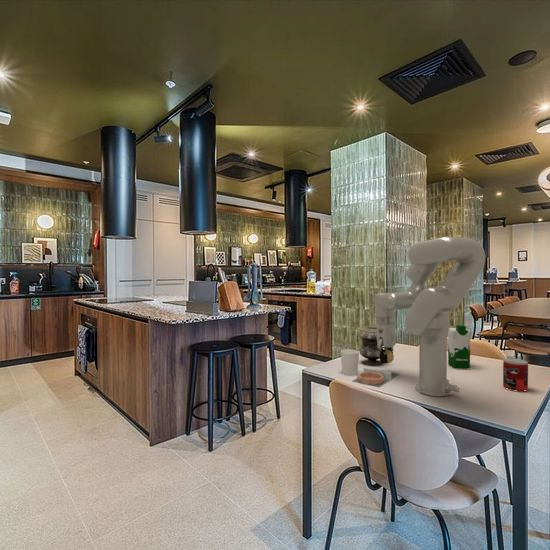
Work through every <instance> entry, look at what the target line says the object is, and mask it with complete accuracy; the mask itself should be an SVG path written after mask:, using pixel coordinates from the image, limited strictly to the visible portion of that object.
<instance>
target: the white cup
mask: <svg viewBox="0 0 550 550" xmlns="http://www.w3.org/2000/svg"><path fill="white" fill-rule="evenodd" d="M359 354H360V350H357V349H349V348H347V349H341V350H340V362H341V364H340V365H341V372H342V374H343V375H347V376H354V375H356V376H357V374H358V371H359V356H360V355H359Z"/></svg>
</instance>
